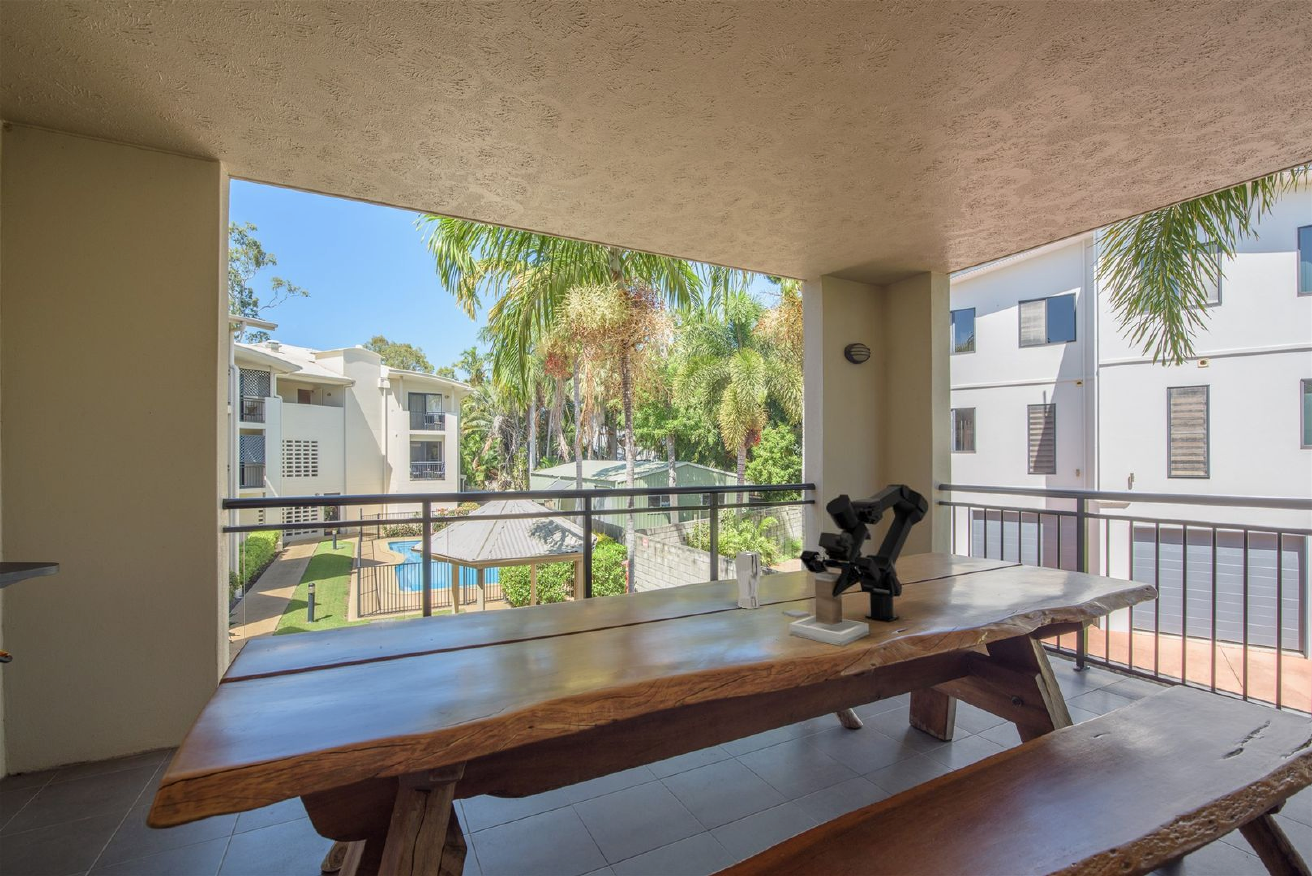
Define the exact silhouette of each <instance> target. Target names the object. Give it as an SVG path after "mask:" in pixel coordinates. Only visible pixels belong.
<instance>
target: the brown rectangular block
mask: <svg viewBox="0 0 1312 876" xmlns="http://www.w3.org/2000/svg"><path fill="white" fill-rule="evenodd" d="M813 574H814V583H815V586H814V587H815V589H814V591H815V594H814V595H815V615H816V622H820V623H824V624H829V625H834V624H838V623H841V622H842V619H843V602H842V601H843V600H842V599H843V598H842V597H843V596H842V593H843V592H842V593H840V594H839V595H838V596H836V597H834V596H833V595H832V593H833V590H834V587H835V585H836V583H837V581H838V579H839V577H840V575H841V573H837V572H830V571H828V572H821V573H813Z"/></svg>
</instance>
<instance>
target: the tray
mask: <svg viewBox="0 0 1312 876" xmlns="http://www.w3.org/2000/svg"><path fill="white" fill-rule="evenodd" d="M788 625H789V626H788V627H789V632H788V633H789V635H790V636H794V635H795V636H794V637H798V638H799V637H800V638H804V639H807V640H808V639H809V640H813V641H816V642H821V643H825V644H829V645H834V646H837V647H838V646H840V647H843V646H846V645H848V644H850V643H853V642H855V641H857V640H859V639H862V638H864V637H866V636H869V635H870V633H869V630H870V629H869V627H870V626H869V623H867V622H862V621H857V620H851V619H846V618H842V622H841V623H838V624H834V625H829V624H824V623H820V622H816V614H814V615H810V616H806V617H803V618H800V619H799V620H796V621H792V622H790V623H789V624H788Z"/></svg>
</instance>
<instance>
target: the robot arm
mask: <svg viewBox="0 0 1312 876" xmlns="http://www.w3.org/2000/svg"><path fill="white" fill-rule="evenodd" d="M889 508H892V511H893V514H894V518H893V520H892V521H891V524H890V526H889V528H888V530H887V532H886V534H885V536H884V538H883V541H882V543H881V544H880V546H879V549H878V550H877V552H876V554H875V555H874V554H867V555H866V556H863V553H862V551H861V549H862V547H863V545H864V543H865V540H867V541H871V540H872V537H871V536H872V535H871V534H870V529H869V528H868V527H867V525H873V526H874V525H877V524H879V522H880V521H881V520H882V519H883V518H884V516H883V513H884V512H886V511H887V510H888V509H889ZM825 510H826V512H827V514H828V515H829V517H830V518H831V521H832V522H833V523H834V525H835V527H836V528H837V529H840V530H841V532H840V533H839V534H837V533H833V532H822V531H821V532H820V535H819V540H818V544H817V545H818V546H819V547H821V548H823V549H825V550H824V553H825V555H826V556H828V557H825V556H823V555H821V554H820V551H815V550H808V549H807V550H803V551H802V553H801V554H800V556H799V558H800V561H801V562H802V563H803V564H804V566H805V568H806V569H807V570H808V571H809V572H810V573H813V574H816V573H821V572H829V569H835V570H841V573H840V574H841V575H840V577H839V579H838V581H837V583H836V585H835V587H834V590H833V593H832V595H833V596H834V597H836V596H838V595H839V594H840V593H843V592H845V591H847V590H848V589H849V588H851V587H853V586H855V585H856V584H858V583H859V584H860V588H861V593H867V594H869V613H867V614H865V615H864V618H868V619H873V620H878V621H884V622H885V621H886V622H891V621H894V620H896V619H898V618H900V615H899V614H895V607H894V598H895V597H897V598H898V597H900V596H901V595H902V592H903V586H902V584H901V583H900V581H899V579H898V573H897V570H896V566H895V564H896V562H897V561H898V558H899V556H900V554H901V551H902V550H903V547H904V545H905V542H906V541H907V538H908V535H909V533H910V532H911V529H912V527H913V526H914V525H916V524H918V523H920V522H921V521H922V520H923V519H924V517H926V514H927V513H928V511H929V502H928V501H927V499H926V498H925V497H924V496H923V495H922V494H921V493H919V492H918V491H916V490H913V489H911V488H910V487H909V486H908V485H907V484H905V483H891V484H888V485H887V486H886V487H885V488H883V489H882V490H880V491H879V492H877V493H875V494H874V495H872V496H871V497H869V498H863V499H860V498H859V499H856V500H851V499H850V497H849V495H848V494H843V493H842V494H839V496H838V497H836V498H833V499H831V500H830V501H829V502H827V504H826V506H825Z"/></svg>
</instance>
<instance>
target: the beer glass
mask: <svg viewBox="0 0 1312 876" xmlns="http://www.w3.org/2000/svg"><path fill="white" fill-rule="evenodd" d="M761 566H762V564H761V553H760V552H758V551H751V550H750V551H749V550H748V551H745V550H744V551H737V552H736V558H735V575H736V583H737V587H738V601H737V607H738V606H740V607H742V608H741V609H743V608H747V609H746V610H754V608H757V609H759V608H760V607H761V606H760V599H759V589H760V588H759V586H760V580H761V572H762V570H761V569H762V567H761ZM740 607H739V608H740ZM758 607H759V608H758Z"/></svg>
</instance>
